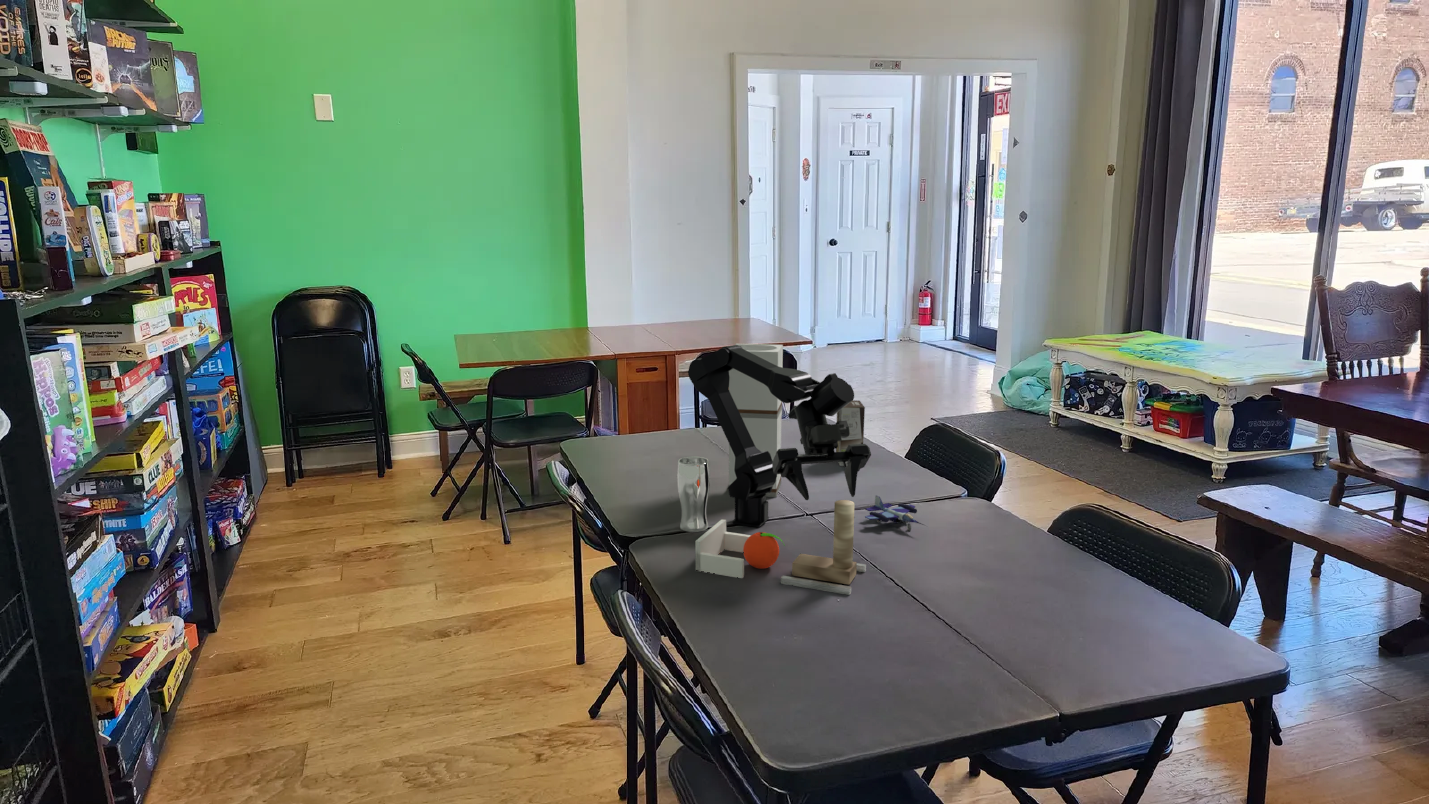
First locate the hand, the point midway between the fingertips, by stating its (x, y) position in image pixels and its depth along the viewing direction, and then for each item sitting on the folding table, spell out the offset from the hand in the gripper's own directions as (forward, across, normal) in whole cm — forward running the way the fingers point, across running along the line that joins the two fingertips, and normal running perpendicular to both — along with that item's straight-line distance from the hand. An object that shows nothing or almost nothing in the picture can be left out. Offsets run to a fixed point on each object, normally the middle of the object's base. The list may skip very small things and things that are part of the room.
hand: (830, 497), depth 175 cm
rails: (+14, -3, +6) cm, 15 cm away
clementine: (+9, -13, +11) cm, 19 cm away
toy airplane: (-3, +21, +22) cm, 31 cm away
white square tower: (-25, -2, +44) cm, 51 cm away
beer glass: (-8, -22, +28) cm, 37 cm away
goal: (+6, -18, +13) cm, 23 cm away
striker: (+13, -3, +5) cm, 15 cm away
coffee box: (-37, +29, +57) cm, 74 cm away
